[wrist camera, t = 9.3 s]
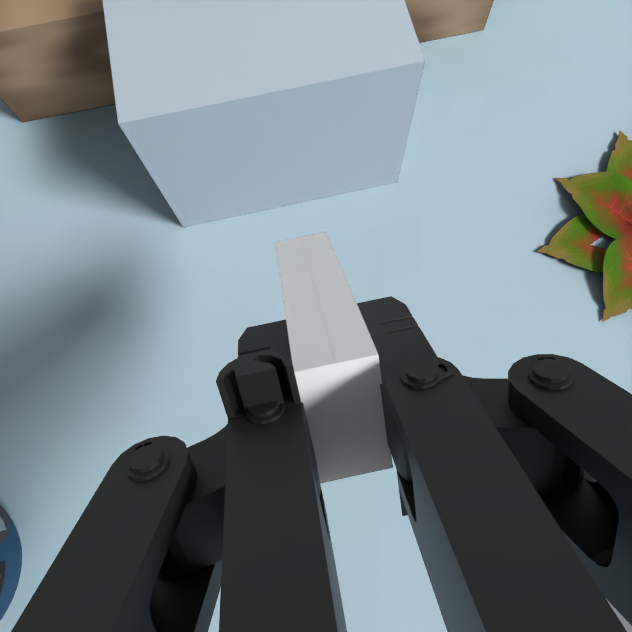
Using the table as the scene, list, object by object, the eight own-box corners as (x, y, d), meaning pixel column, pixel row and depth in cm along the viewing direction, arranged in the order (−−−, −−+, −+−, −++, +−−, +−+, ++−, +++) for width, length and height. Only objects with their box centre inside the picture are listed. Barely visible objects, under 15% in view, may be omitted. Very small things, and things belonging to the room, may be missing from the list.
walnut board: (469, -9, 32) (499, -113, 26) (483, 29, 31) (517, -70, 25) (19, 80, 31) (-52, -7, 25) (22, 122, 30) (-51, 41, 24)
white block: (362, 67, 31) (374, -88, 22) (397, 183, 29) (425, 61, 20) (164, 107, 30) (98, -35, 22) (184, 228, 28) (118, 123, 20)
